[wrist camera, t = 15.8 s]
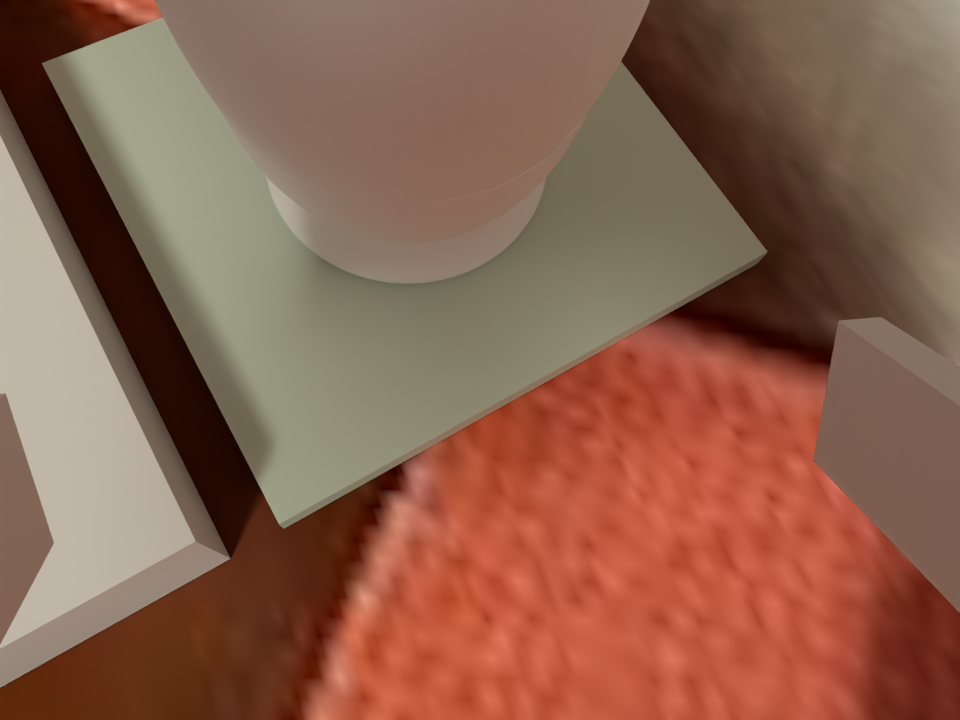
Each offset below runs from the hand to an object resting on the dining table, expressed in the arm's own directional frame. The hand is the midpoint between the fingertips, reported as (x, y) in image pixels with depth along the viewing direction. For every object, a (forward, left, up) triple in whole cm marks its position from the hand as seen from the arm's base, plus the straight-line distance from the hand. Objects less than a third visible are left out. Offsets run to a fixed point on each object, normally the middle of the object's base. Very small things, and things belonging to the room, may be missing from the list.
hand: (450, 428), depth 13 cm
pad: (-10, +4, -9) cm, 14 cm away
